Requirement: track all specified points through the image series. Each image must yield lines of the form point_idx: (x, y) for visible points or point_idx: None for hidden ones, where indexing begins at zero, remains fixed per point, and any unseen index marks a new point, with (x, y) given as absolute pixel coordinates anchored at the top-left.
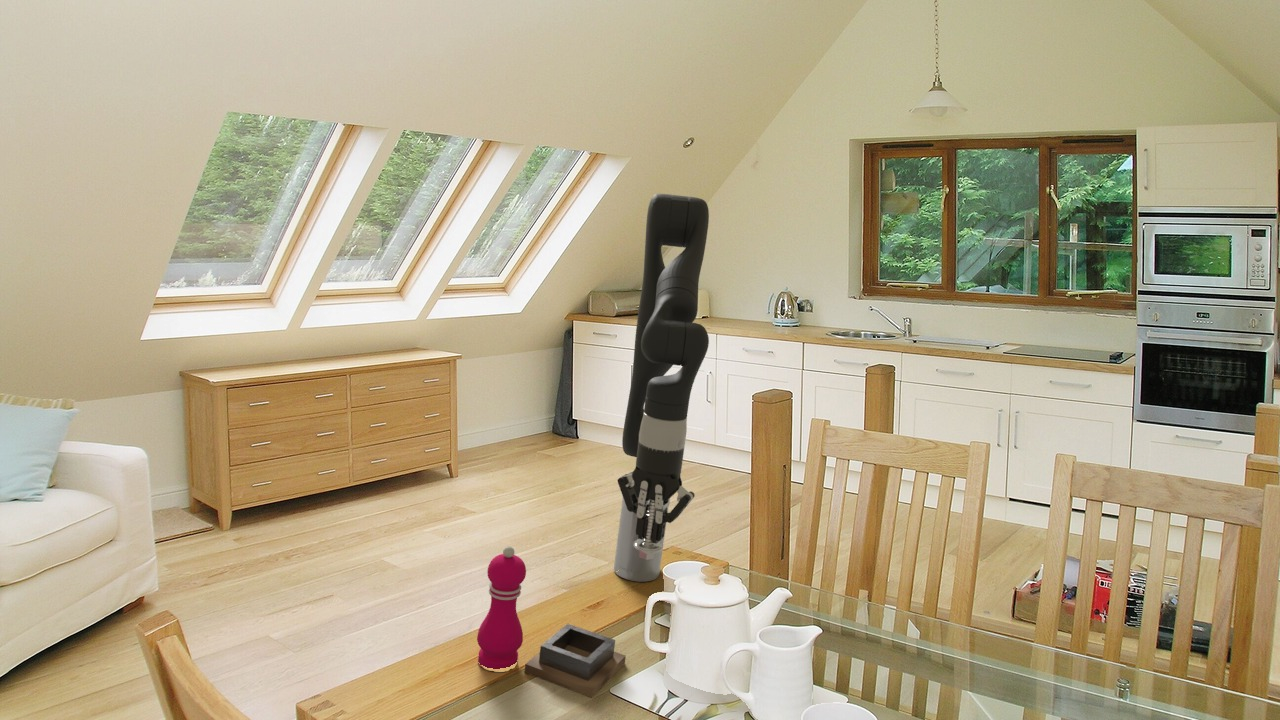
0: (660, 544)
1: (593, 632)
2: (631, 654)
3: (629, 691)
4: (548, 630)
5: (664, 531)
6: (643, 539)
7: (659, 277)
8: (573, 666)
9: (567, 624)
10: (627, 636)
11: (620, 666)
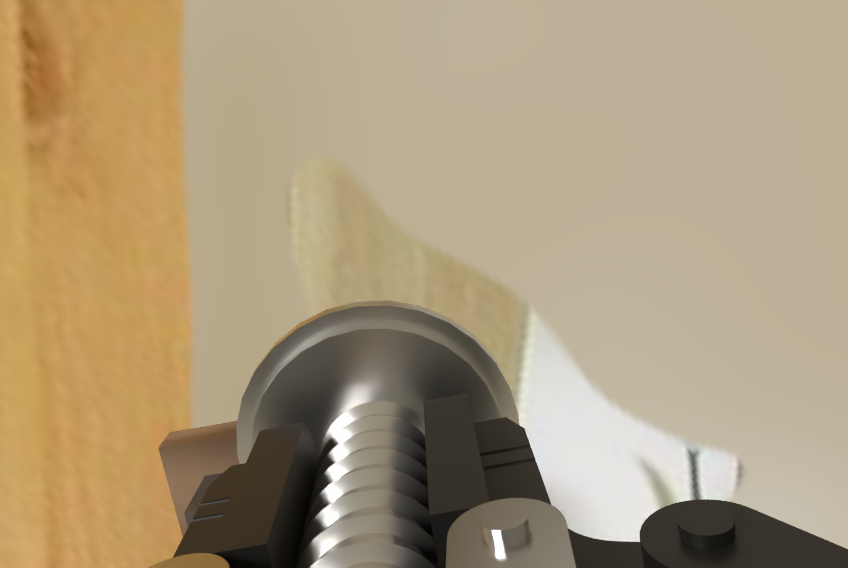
0: (475, 377)
1: None
2: (424, 306)
3: (565, 513)
4: (75, 404)
5: (535, 463)
6: (291, 415)
7: None
8: None
9: (190, 520)
10: (324, 199)
11: None
